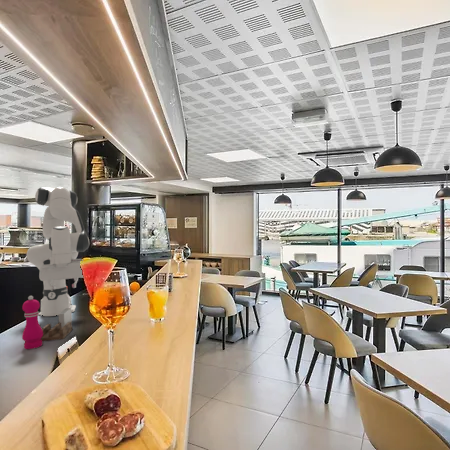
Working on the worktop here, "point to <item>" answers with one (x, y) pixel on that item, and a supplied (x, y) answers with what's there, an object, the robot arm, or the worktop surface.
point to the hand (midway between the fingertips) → (63, 288)
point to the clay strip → (65, 317)
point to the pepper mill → (32, 324)
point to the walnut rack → (56, 331)
